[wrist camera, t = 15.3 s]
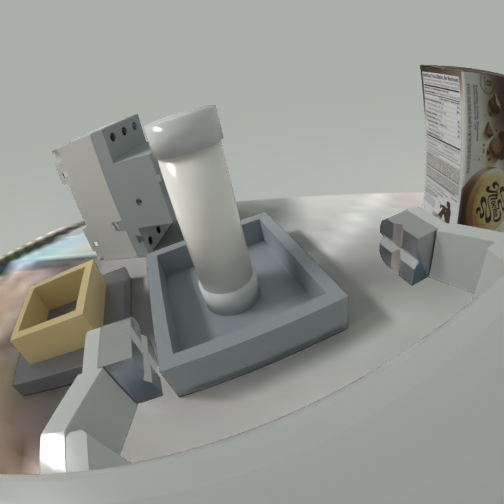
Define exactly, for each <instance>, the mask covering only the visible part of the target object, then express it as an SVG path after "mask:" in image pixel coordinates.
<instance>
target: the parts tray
mask: <svg viewBox="0 0 504 504" xmlns="http://www.w3.org/2000/svg"><path fill="white" fill-rule="evenodd" d="M240 221H241V225H242V229H243V233H244V237H245V241H246V245H247V249H248V253H249V257H250V261H251V263H252V264H253V265H254V267H255V270H256V274H257V278H258V282H259V286H260V292H261V293H260V297H259V299H258V301H257V302H256V304H255V305H254V306H253V307H251V308H250V309H249V310H247V311H245V312H243V313H240V314H237V315H232V316H221V315H217V314H215V313H213V312H211V311H210V310H209V309H208V307H207V305H206V303H205V300H204V298H203V295H202V293H201V290H200V288H199V284H198V283H199V278H198V275H197V272H196V270H195V267H194V264H193V262H192V259H191V256H190V254H189V251H188V248H187V246H186V243H185V240H183V241H180V242H178V243H175V244H172V245H169V246H167V247H164V248H161V249H159V250H156V251H153V252H151V253H148V254H146V256H147V270H148V282H149V293H150V303H151V312H152V320H153V328H154V336H155V343H156V350H157V357H158V363H159V369H160V373H161V374H162V375H163V377H164V378H165V379H166V381H167V382H168V383H169V385H170V386H171V387H172V388H173V390H174V391H175V392H176V394H177V395H178V396H179V397H181V396H184V395H187V394H190V393H193V392H196V391H199V390H202V389H205V388H208V387H211V386H214V385H216V384H219V383H222V382H225V381H227V380H230V379H233V378H235V377H238V376H241V375H243V374H246V373H248V372H251V371H253V370H256V369H258V368H261V367H263V366H266V365H268V364H270V363H273V362H275V361H278V360H280V359H282V358H285V357H287V356H289V355H291V354H294V353H296V352H298V351H300V350H303V349H305V348H307V347H309V346H311V345H313V344H316V343H318V342H320V341H322V340H324V339H326V338H328V337H330V336H332V335H334V334H336V333H338V332H340V331H342V330H344V329H346V328H348V295H347V294H346V293H345V292H344V291H343V290H342V289H341V288H340V287H339V286H338V285H337V284H336V283H335V281H334V280H333V279H332V278H331V277H330V276H329V275H328V274H327V273H326V272H325V271H324V270H323V269H322V268H321V267H320V266H319V265H318V264H317V263H316V262H315V261H314V260H313V259H312V258H311V257H310V256H309V255H308V254H307V253H306V252H305V251H304V250H303V249H302V248H301V247H300V246H299V245H298V244H297V243H296V242H295V241H294V240H293V239H292V238H291V237H290V236H289V235H288V234H287V233H286V232H285V231H284V230H283V229H282V228H281V227H280V226H279V225H278V224H277V223H276V222H275V221H274V220H273V219H272V218H271V217H270V216H269V215H268V214H267V213H266V212H263V213H260V214H257V215H254V216H251V217H248V218H245V219H242V220H240Z"/></svg>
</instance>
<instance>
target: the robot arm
mask: <svg viewBox="0 0 504 504" xmlns="http://www.w3.org/2000/svg"><path fill="white" fill-rule="evenodd" d="M380 233H381V234H382V235H383V238H382V240H381V242H380V254H381V257H382V260H383V261H384V262H385V264H386V265H387V266H388V267H390V268H392V269H396V270H398V272H399V276H401V277H402V278H403V279H404V280H406V281H407V282H408V283H409V284H410V285H414V284H416V283H418V282H419V281H421V280H423V279H425V278H427V277H428V276H429V278H432V279H435V280H438V281H441V282H444V283H446V284H449V285H452V286H455V287H457V288H460V289H463V290H466V291H468V292H471V293H474V297H473V299H472V302H471V303H470V304H469V305H467V306H466V307H465V308H464V309H462V310H461V311H460V312H459V313H457V314H456V315H455V316H454V317H452V318H451V319H450V320H448V321H447V322H446V323H444V324H443V325H442V326H440V327H439V328H438V329H436V330H435V331H433V332H432V333H431V334H429V335H428V336H426V337H425V338H424V339H422V340H421V341H419V342H418V343H416V344H415V345H413V346H412V347H410V348H409V349H407V350H406V351H404V352H403V353H401V354H400V355H398V356H397V357H395V358H393V359H392V360H390V361H389V362H387V363H385V364H384V365H382V366H381V367H379V368H377V369H376V370H374V371H372V372H370V373H369V374H367V375H365V376H364V377H362V378H360V379H358V380H356V381H355V382H353V383H351V384H349V385H347V386H345V387H344V388H342V389H340V390H338V391H336V392H334V393H332V394H330V395H328V396H326V397H324V398H322V399H320V400H318V401H316V402H314V403H312V404H310V405H308V406H306V407H303V408H301V409H299V410H297V411H295V412H292V413H290V414H288V415H286V416H283V417H281V418H279V419H276V420H274V421H271V422H269V423H266V424H264V425H261V426H259V427H256V428H254V429H251V430H248V431H246V432H243V433H240V434H237V435H235V436H232V437H229V438H226V439H223V440H220V441H217V442H214V443H211V444H208V445H204V446H201V447H198V448H194V449H191V450H187V451H184V452H180V453H176V454H172V455H168V456H164V457H160V458H156V459H151V460H147V461H142V462H137V463H131V462H129V461H127V460H126V459H124V458H123V457H121V456H120V454H121V451H122V448H123V445H124V442H125V439H126V437H127V434H128V431H129V428H130V425H131V423H132V420H133V417H134V414H135V412H136V409H137V406H138V405H137V404H139V403H142V402H145V401H148V400H151V399H154V398H157V397H160V396H163V393H162V387H161V381H160V377H159V376H158V374H157V373H156V372H155V370H156V369H157V367H158V363H157V358H156V355H155V352H154V349H153V347H152V345H151V343H150V341H149V339H148V338H147V336H144V335H142V334H141V331H140V325H139V324H138V322H137V321H136V319H135V318H133V317H129V318H126V319H123V320H120V321H117V322H114V323H111V324H108V325H105V326H102V327H99V328H97V329H94V330H91V331H88V332H87V334H86V338H85V347H84V357H83V369H82V374H79V375H78V376H77V377H76V379H75V380H74V382H73V383H72V385H71V386H70V388H69V390H68V391H67V393H66V394H65V396H64V398H63V399H62V401H61V402H60V404H59V406H58V407H57V409H56V410H55V412H54V414H53V415H52V417H51V419H50V420H49V422H48V424H47V425H46V427H45V429H44V430H43V432H42V434H41V438H40V474H23V475H21V474H0V504H504V233H503V232H498V231H493V230H488V229H483V228H477V227H472V226H466V225H461V224H455V223H449V224H447V223H446V222H444V221H442V220H440V219H439V218H437V217H435V216H433V215H432V214H430V213H428V212H426V211H424V210H422V209H421V208H419V207H412V208H409V209H407V210H405V211H403V212H402V213H399V214H397V215H395V216H392V217H390V218H387V219H385V220H383V221H382V223H381V225H380Z"/></svg>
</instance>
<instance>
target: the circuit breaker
mask: <svg viewBox="0 0 504 504" xmlns="http://www.w3.org/2000/svg"><path fill="white" fill-rule="evenodd" d="M52 152H53V154H54V153H55V155H56V158H57V162H58V163H56V167H57V170H58V173H59V175H60V178H61V180H62V183H63V184H66V183H68V184H69V186H70V189H71V191H72V194H73V196H74V198H75V201H76V203H77V206H78V208H79V210H80V212H81V214H82V217H83V219H84V221H85V224H86V226H87V227H86V228H85V229H84V230H83V231H84V233H85V235H86V237H87V239H88V241H89V243H90V245H91V247H92V249H93V251H96V253H97V255H98V256H99V257H98V258H97V259H98V261H101V260H102V259H105V260H114V259H125V258H137V257H147V256H146V254H148V253H151V252H152V251H153V250H154V248H155V247H156V246H157V244H158V243H159V241H160V240H161V238H162V237H163V235H164V234H165V233H166V231H167V230H168V228H169V227H170V225H171V224H172V223H173V221H174V220H175V218H176V215H175V212H174V209H173V206H172V203H171V200H170V197H169V194H168V191H167V188H166V185H165V182H164V179H163V176H162V173H161V170H160V167H159V164H158V160H157V159H154V158H153V156H152V152H151V149H150V146H149V143H148V142H146V140H145V137H144V134H143V130H142V127H141V124H140V120H139V117H138V114H136V115H133V116H130V117H127V118H124V119H121V120H119V121H116V122H113V123H111V124H108V125H105V126H103V127H100V128H98V129H95V130H93V131H91V132H88V133H86V134H84V135H82V136H80V137H78V138H76V139H74V140H73V141H70V142H69V143H66V144H64V145H63V146H61V147H59V148H57V149H55V150H54V151H52ZM64 171H67V174H68V177H67V178H65V177H64V174H63V172H64ZM157 227H159V229H158V230H157ZM150 237H151V240H150V241H149V238H150ZM96 241H97V243H98V245H99V246H95V245H94V243H93V242H96Z"/></svg>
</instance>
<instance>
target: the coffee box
mask: <svg viewBox="0 0 504 504" xmlns="http://www.w3.org/2000/svg"><path fill="white" fill-rule="evenodd" d="M420 69H421V77H422V87H423V99H424V114H425V142H426V162H425V163H426V164H425V193H424V208H423V210H424V211H426V212H428V213H430V214H432V215H433V216H435V217H437V218H439V219H440V220H442V221H444V222H446V223H447V224H449V223H455V224H461V225H466V226H472V227H477V228H483V229H488V230H493V231H498V232H503V233H504V75H503V74H499V73H494V72H490V71H484V70H479V69H472V68H464V67H453V66H437V65H420Z"/></svg>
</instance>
